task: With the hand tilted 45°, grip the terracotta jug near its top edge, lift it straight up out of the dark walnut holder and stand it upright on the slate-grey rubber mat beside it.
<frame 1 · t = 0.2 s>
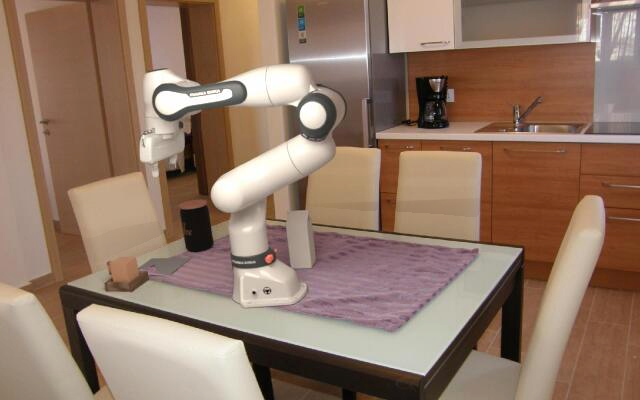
hand: (164, 172, 171), 39 cm above the table, tool pointing down, fingers open, 8 cm apart
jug: (121, 273, 191), in the holder
mat: (160, 267, 206), on the table
holder: (127, 285, 192), on the table
coffee jar: (200, 248, 223), on the table
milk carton: (303, 265, 194), on the table
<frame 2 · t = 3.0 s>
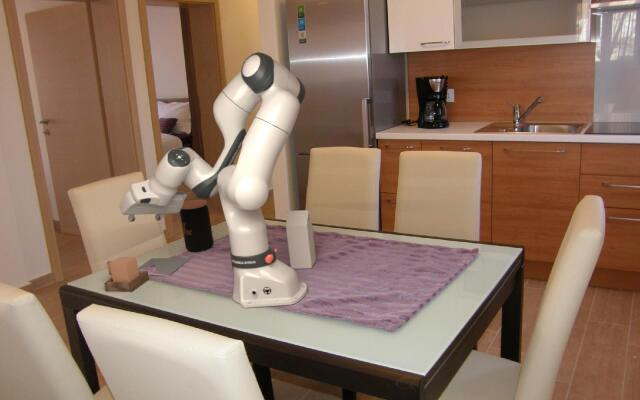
hand: (144, 219, 189), 21 cm above the table, tool tilted 45°, fingers open, 8 cm apart
nothing on the table moved.
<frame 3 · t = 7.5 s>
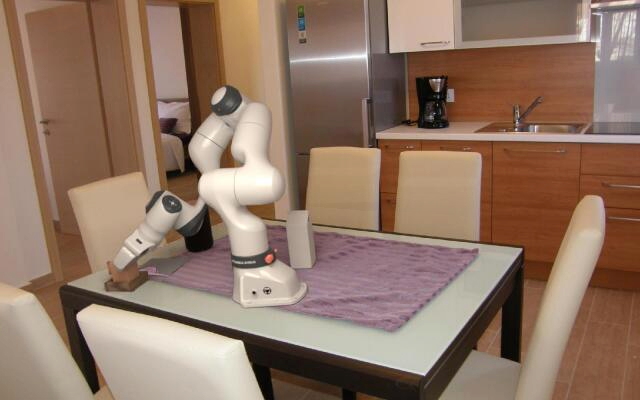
hand: (126, 266, 190), 7 cm above the table, tool tilted 45°, fingers closed on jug, 6 cm apart
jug: (121, 272, 191), in the holder, touching gripper
everything else where it was.
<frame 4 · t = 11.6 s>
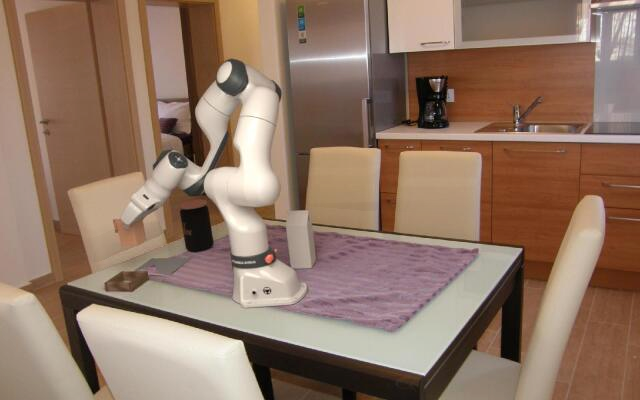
hand: (132, 224, 193), 19 cm above the table, tool tilted 45°, fingers closed on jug, 6 cm apart
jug: (127, 230, 194), point 17 cm above the table, touching gripper
everything else where it was.
when the fingers open (8 cm above the table, at t = 15.7 s): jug drops 1 cm, resting on mat.
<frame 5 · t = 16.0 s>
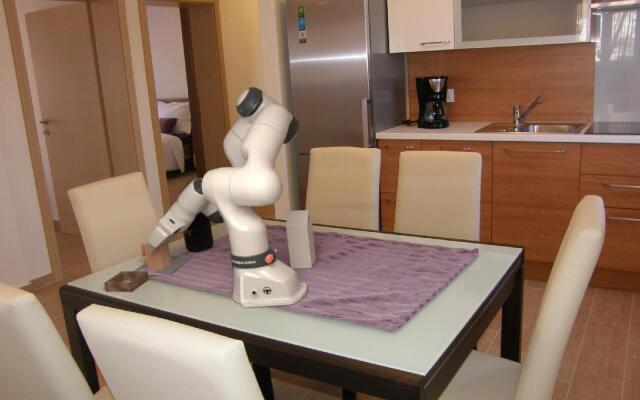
hand: (158, 245, 204), 8 cm above the table, tool tilted 45°, fingers open, 8 cm apart
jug: (154, 254, 205), on the mat
everything else where it was.
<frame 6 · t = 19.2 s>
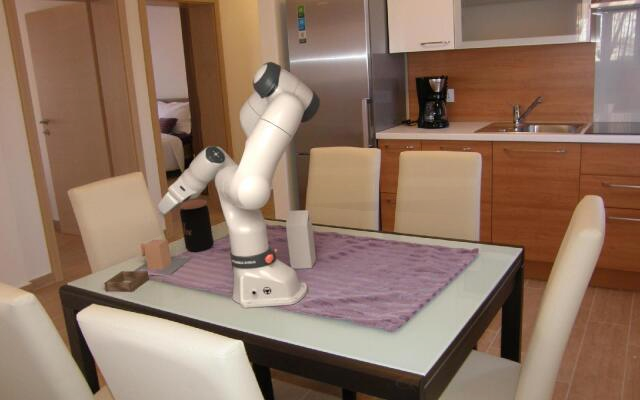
hand: (168, 210, 200), 21 cm above the table, tool tilted 50°, fingers open, 8 cm apart
nothing on the table moved.
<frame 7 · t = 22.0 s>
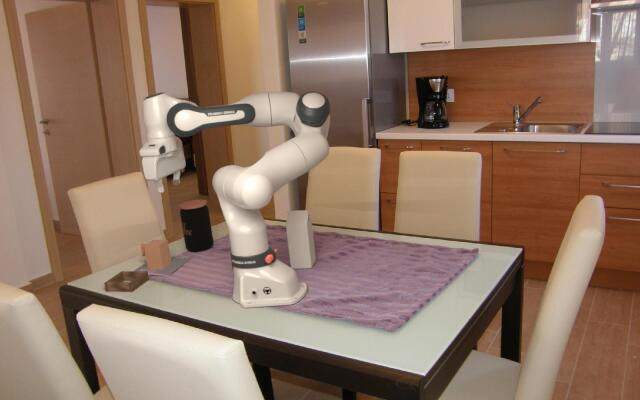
hand: (169, 188, 185), 31 cm above the table, tool pointing down, fingers open, 8 cm apart
nothing on the table moved.
at the end: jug inside the target area on the mat (0.1 cm from its centre), point 4.9 cm above the mat's base; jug tilted 0°; the gripper is holding nothing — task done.
